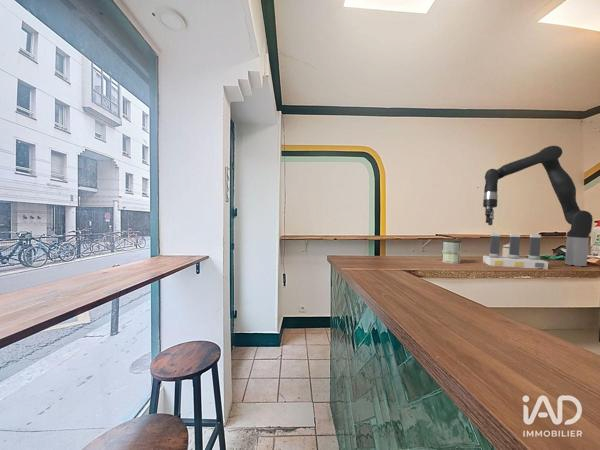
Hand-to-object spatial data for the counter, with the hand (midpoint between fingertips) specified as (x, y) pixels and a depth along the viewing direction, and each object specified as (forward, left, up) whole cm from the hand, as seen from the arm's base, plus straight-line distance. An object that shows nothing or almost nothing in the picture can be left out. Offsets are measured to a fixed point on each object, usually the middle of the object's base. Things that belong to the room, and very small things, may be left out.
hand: (489, 224), depth 173 cm
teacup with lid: (-20, +4, -24) cm, 32 cm away
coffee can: (+26, -8, -24) cm, 36 cm away
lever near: (-6, +22, -20) cm, 30 cm away
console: (+1, +15, -24) cm, 28 cm away
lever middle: (+1, +15, -20) cm, 25 cm away
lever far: (+8, +8, -20) cm, 23 cm away
